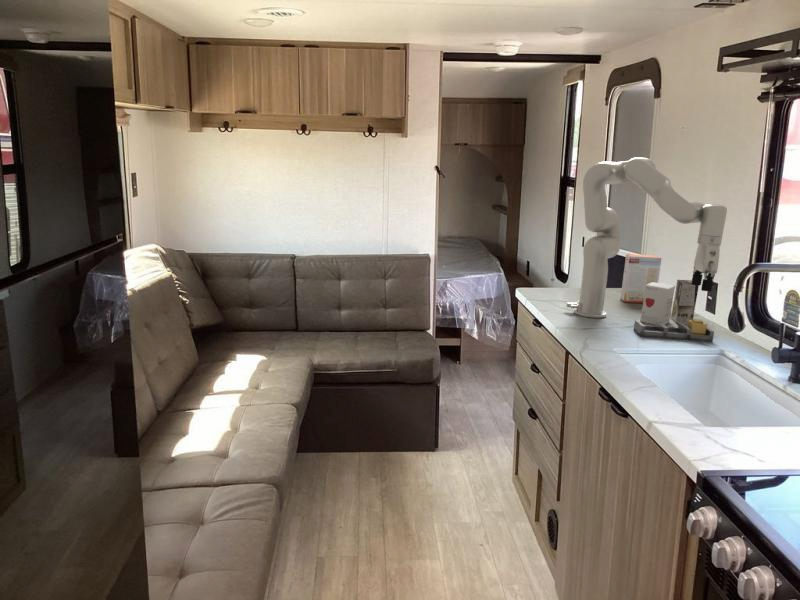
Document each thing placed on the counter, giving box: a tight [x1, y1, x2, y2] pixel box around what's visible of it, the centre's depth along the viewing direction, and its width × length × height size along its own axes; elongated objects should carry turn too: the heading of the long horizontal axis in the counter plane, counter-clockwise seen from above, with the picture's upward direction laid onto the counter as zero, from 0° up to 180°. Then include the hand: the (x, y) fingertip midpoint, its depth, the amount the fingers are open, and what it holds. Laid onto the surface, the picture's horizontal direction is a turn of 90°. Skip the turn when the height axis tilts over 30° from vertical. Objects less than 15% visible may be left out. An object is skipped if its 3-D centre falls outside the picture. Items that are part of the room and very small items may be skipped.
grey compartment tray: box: [633, 319, 715, 343], centre depth 233 cm, size 25×9×4 cm, turn 85°
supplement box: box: [639, 282, 676, 326], centre depth 251 cm, size 9×9×15 cm
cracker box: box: [620, 254, 662, 304], centre depth 285 cm, size 14×6×21 cm, turn 88°
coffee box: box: [670, 279, 700, 325], centre depth 255 cm, size 9×6×16 cm
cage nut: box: [686, 318, 708, 335], centre depth 232 cm, size 5×5×6 cm
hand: (700, 287), depth 229 cm, fingers open, 9 cm apart
